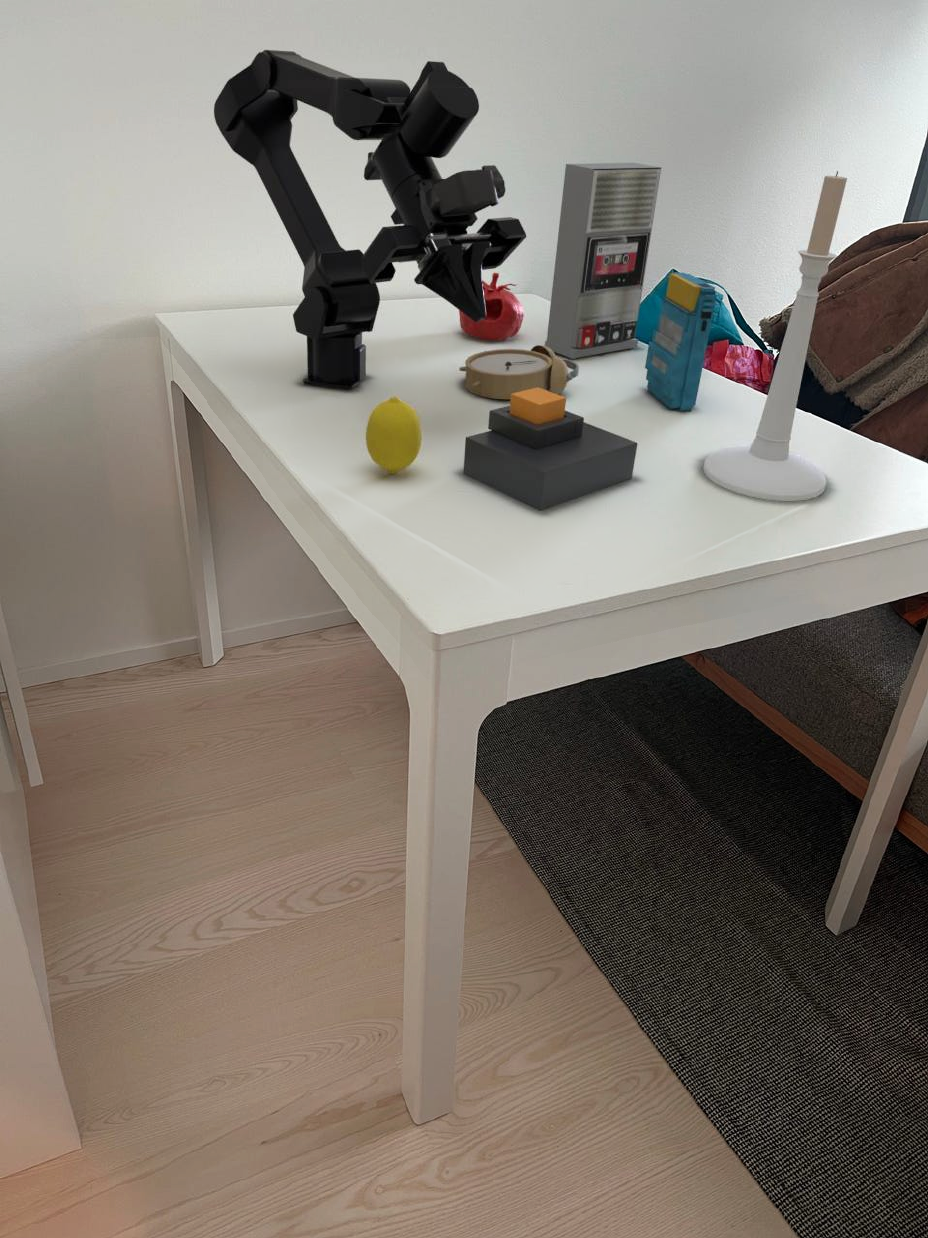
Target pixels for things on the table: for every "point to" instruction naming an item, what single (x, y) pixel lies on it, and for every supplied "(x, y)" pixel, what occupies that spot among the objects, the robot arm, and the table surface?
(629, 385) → the table surface
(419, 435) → the lemon
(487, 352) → the alarm clock
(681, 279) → the handheld gaming console
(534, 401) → the key
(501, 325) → the pomegranate
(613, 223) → the cassette tape recorder
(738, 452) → the candlestick
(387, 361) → the table surface
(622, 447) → the push button
